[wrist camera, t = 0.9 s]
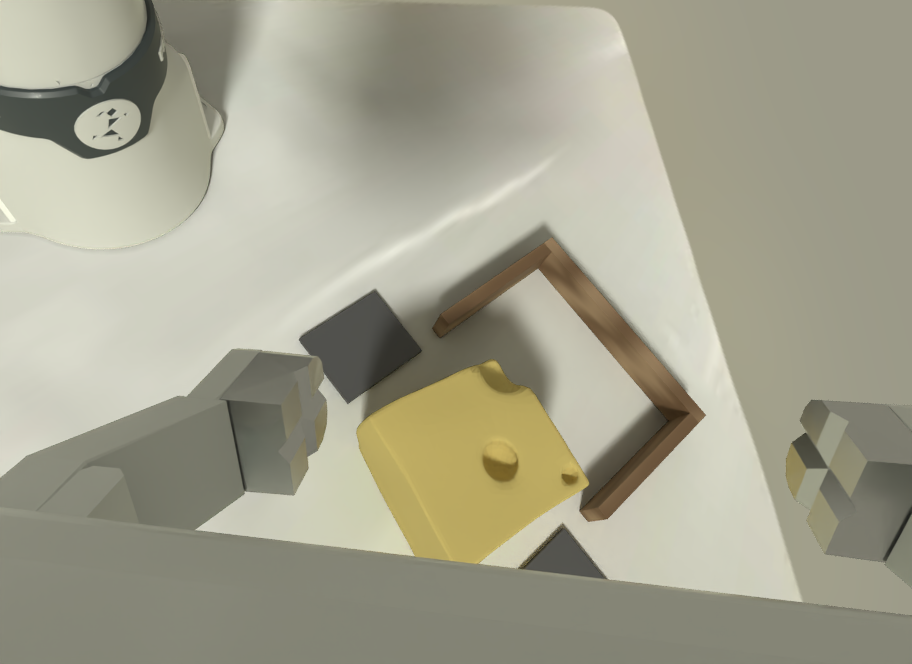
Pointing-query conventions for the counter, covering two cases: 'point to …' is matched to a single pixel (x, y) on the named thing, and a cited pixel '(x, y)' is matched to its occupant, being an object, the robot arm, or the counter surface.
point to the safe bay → (618, 343)
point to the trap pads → (376, 356)
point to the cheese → (467, 463)
